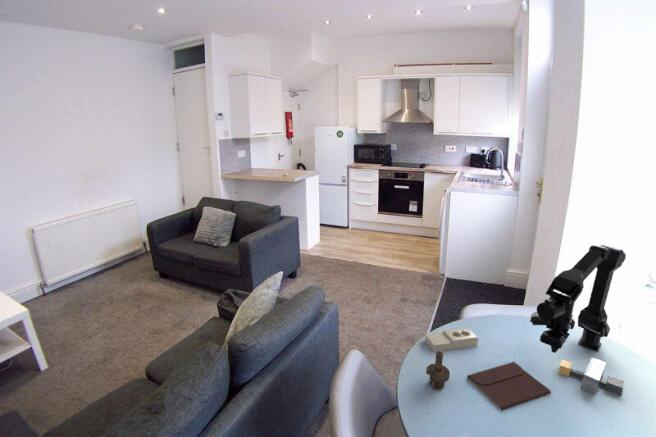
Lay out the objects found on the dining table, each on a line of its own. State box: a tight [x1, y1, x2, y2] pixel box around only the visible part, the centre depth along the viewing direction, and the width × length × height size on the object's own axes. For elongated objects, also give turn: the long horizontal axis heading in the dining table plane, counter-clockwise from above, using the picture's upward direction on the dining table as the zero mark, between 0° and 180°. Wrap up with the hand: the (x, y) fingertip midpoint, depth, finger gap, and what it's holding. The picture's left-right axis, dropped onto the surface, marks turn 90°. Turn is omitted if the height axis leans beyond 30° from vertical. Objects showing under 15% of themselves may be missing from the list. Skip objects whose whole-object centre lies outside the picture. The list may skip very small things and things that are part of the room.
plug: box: [558, 359, 625, 397], centre depth 123 cm, size 4×17×3 cm, turn 51°
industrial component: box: [425, 351, 451, 390], centre depth 119 cm, size 9×7×12 cm
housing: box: [580, 356, 607, 396], centre depth 121 cm, size 12×4×6 cm, turn 136°
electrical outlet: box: [424, 327, 479, 353], centre depth 142 cm, size 7×4×18 cm
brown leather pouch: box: [466, 361, 552, 411], centre depth 120 cm, size 15×20×2 cm
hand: (553, 351), depth 128 cm, fingers closed
